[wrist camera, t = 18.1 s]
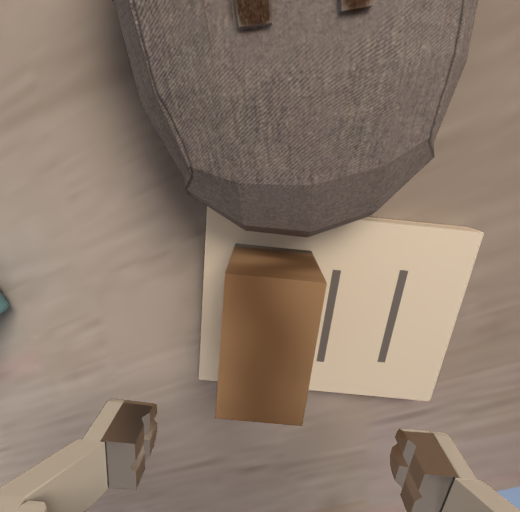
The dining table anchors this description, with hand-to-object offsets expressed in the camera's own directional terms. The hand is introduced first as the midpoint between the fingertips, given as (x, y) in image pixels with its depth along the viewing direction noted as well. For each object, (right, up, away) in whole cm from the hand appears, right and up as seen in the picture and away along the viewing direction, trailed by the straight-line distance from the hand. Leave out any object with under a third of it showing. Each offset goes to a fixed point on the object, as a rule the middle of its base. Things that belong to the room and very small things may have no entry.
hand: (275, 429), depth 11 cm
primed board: (+4, +3, +11) cm, 12 cm away
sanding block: (0, +3, +9) cm, 10 cm away
